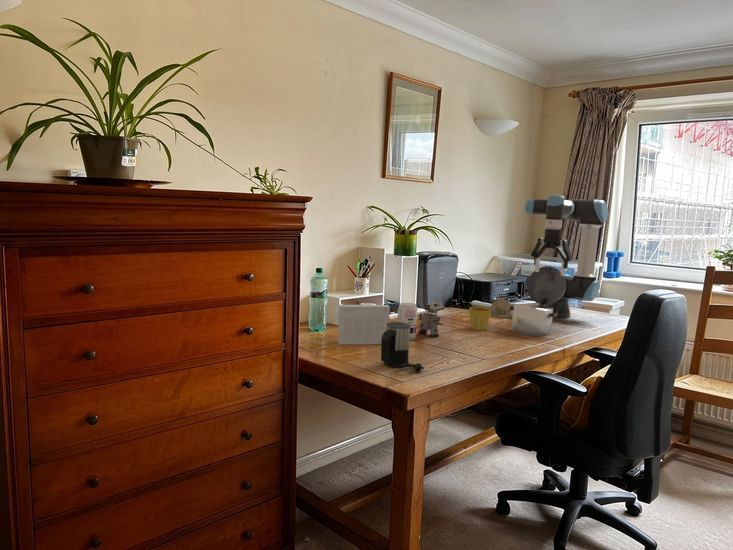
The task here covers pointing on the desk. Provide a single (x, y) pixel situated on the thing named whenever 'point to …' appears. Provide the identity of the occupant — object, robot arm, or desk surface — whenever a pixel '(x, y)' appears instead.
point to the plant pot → (479, 317)
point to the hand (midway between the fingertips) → (549, 273)
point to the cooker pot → (532, 319)
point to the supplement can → (408, 317)
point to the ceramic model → (501, 309)
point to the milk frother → (397, 346)
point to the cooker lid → (546, 285)
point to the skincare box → (362, 323)
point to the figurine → (431, 319)
